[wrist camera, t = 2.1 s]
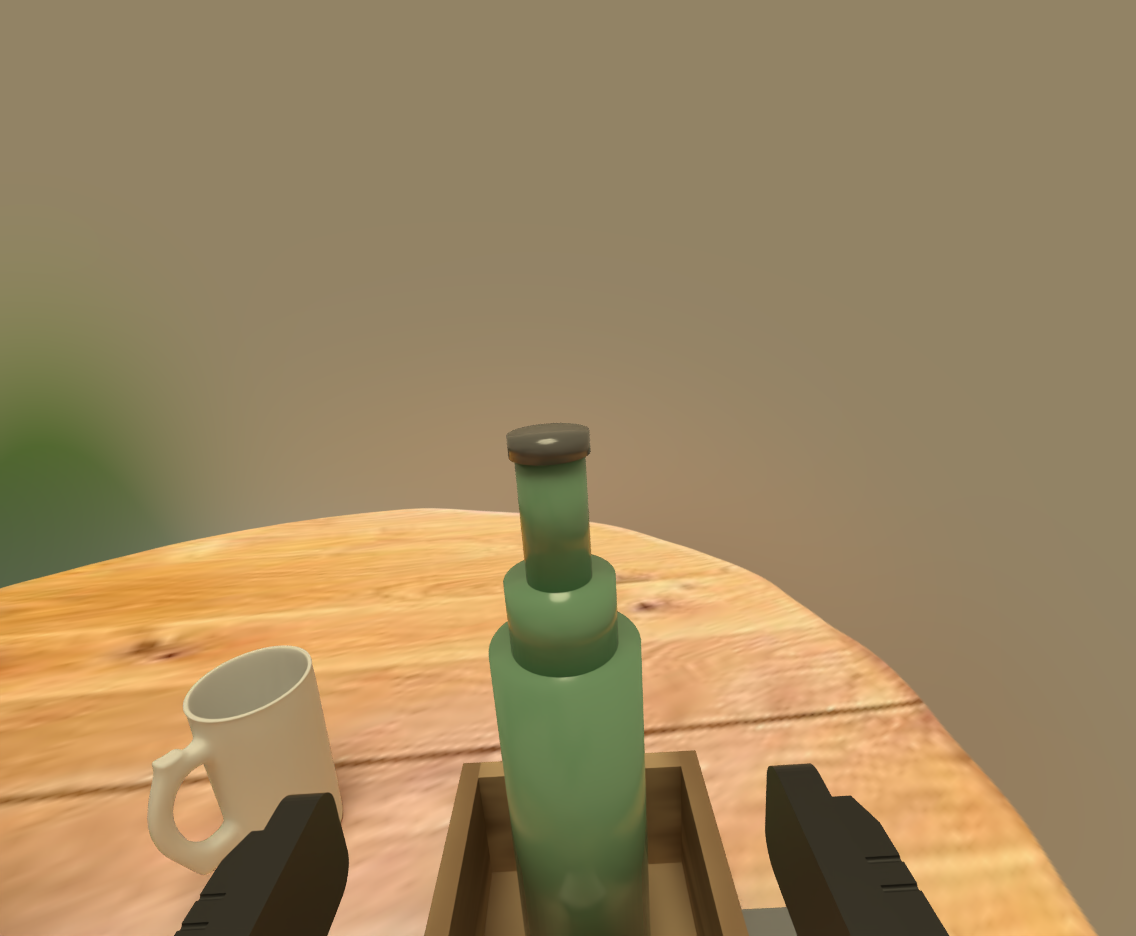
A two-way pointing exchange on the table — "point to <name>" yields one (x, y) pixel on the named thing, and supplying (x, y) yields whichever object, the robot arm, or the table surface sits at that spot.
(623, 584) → the table surface
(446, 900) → the crate
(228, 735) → the mug
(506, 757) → the green bottle
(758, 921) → the coaster
